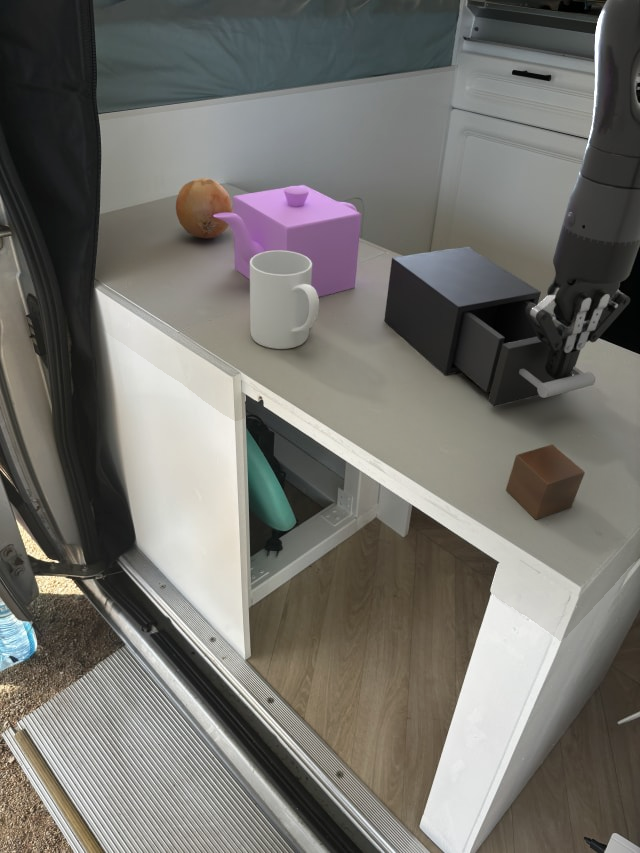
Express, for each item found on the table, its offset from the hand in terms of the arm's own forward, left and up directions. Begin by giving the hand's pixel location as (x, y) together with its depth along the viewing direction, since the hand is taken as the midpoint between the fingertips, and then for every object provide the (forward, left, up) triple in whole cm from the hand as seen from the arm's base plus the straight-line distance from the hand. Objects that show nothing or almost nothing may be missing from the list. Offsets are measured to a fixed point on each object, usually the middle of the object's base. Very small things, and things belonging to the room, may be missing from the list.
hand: (556, 375), depth 74 cm
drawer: (+6, -3, -4) cm, 8 cm away
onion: (+68, -15, -6) cm, 69 cm away
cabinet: (+17, -9, -5) cm, 20 cm away
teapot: (+46, -10, -6) cm, 47 cm away
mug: (+34, +6, -6) cm, 35 cm away
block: (-4, +15, -5) cm, 17 cm away
